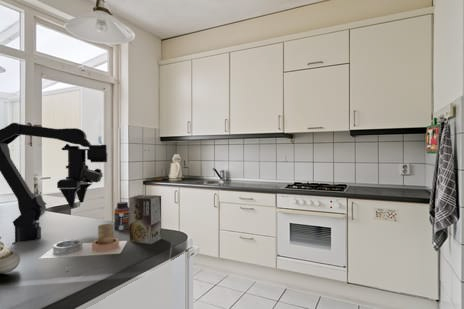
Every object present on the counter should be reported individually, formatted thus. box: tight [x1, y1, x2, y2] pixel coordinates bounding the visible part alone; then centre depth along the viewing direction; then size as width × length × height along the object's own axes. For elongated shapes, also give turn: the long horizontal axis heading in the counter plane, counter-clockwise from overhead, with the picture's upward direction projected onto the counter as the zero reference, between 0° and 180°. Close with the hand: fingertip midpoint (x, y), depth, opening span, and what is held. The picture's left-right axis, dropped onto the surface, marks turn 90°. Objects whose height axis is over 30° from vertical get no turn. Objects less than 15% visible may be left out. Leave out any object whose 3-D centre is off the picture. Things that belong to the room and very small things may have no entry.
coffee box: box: [128, 194, 162, 245], centre depth 95 cm, size 9×6×16 cm
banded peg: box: [97, 223, 114, 245], centre depth 87 cm, size 5×5×7 cm
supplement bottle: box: [113, 201, 130, 232], centre depth 110 cm, size 6×6×11 cm
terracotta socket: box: [91, 237, 120, 252], centre depth 87 cm, size 8×8×2 cm
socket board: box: [38, 240, 128, 260], centre depth 86 cm, size 22×12×1 cm, turn 101°
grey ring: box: [52, 239, 83, 255], centre depth 85 cm, size 8×8×2 cm
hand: (77, 204), depth 102 cm, fingers open, 9 cm apart
